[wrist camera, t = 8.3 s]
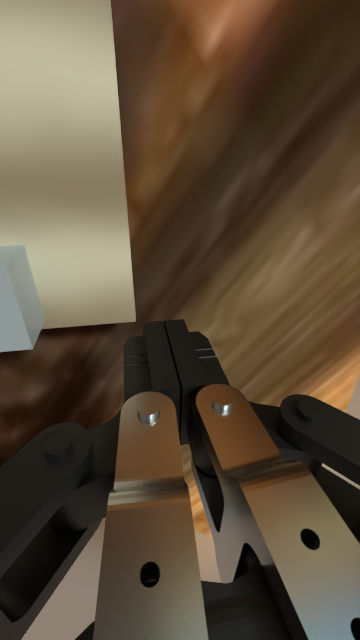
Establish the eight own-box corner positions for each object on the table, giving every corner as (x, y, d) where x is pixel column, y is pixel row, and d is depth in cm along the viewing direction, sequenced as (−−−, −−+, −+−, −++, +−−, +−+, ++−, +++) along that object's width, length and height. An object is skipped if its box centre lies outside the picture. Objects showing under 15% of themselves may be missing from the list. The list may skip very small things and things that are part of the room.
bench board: (-176, -73, 10) (-282, -152, 7) (106, -41, 11) (102, -96, 8) (-22, 308, 17) (-47, 336, 15) (133, 297, 18) (136, 321, 16)
